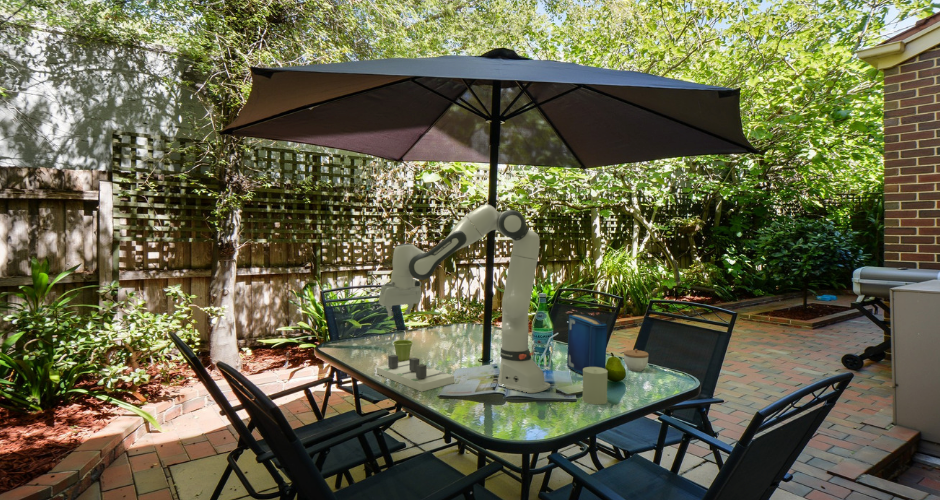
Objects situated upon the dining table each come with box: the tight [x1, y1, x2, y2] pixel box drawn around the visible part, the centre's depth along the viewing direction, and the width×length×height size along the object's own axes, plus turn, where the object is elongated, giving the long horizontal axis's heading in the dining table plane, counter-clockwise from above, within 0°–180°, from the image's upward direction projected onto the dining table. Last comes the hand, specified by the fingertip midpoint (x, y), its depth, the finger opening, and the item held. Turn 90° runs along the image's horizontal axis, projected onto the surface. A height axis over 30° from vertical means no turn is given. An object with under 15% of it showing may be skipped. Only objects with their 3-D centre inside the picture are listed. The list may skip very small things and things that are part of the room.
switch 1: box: [387, 354, 399, 369], centre depth 222 cm, size 3×3×5 cm
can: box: [581, 367, 609, 405], centre depth 192 cm, size 9×9×12 cm
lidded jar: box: [623, 348, 649, 372], centre depth 234 cm, size 11×11×9 cm
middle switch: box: [409, 357, 420, 372], centre depth 218 cm, size 3×3×5 cm
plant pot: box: [392, 339, 413, 362], centre depth 248 cm, size 9×9×9 cm
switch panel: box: [376, 360, 455, 393], centre depth 218 cm, size 32×17×3 cm, turn 43°
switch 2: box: [416, 363, 428, 379], centre depth 208 cm, size 3×3×5 cm
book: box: [566, 314, 608, 376], centre depth 226 cm, size 22×7×25 cm, turn 22°
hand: (399, 315), depth 213 cm, fingers open, 8 cm apart
